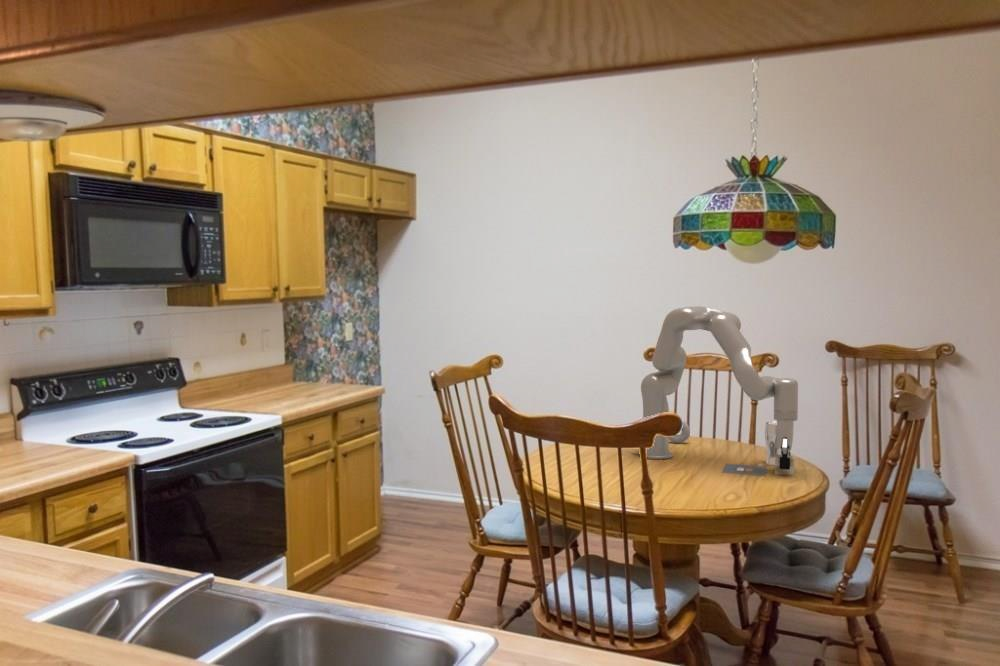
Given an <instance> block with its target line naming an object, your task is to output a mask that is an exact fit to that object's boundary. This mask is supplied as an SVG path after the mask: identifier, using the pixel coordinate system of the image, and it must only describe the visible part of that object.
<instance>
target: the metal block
mask: <svg viewBox="0 0 1000 666" xmlns="http://www.w3.org/2000/svg"><path fill="white" fill-rule="evenodd" d="M787 456H788V455H787ZM789 458H790V469H789V470H787V469H780V455H776V456H775V465H774V474H775V475H780V476H781V475H783V476H795V455H791V454H790V455H789Z"/></svg>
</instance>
